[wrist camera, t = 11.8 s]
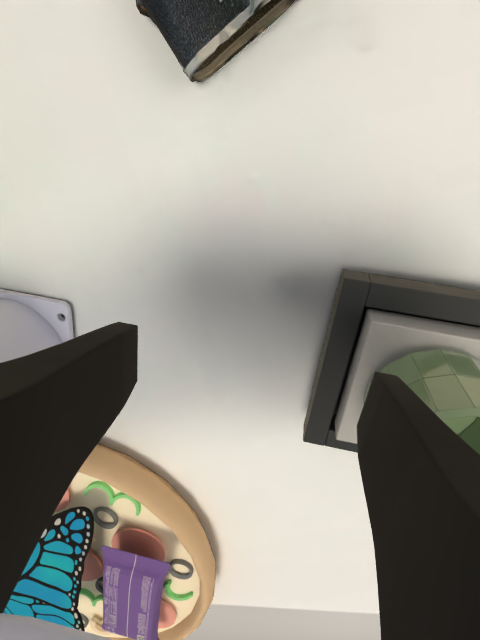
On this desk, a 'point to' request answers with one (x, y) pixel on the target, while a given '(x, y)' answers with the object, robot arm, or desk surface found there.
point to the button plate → (394, 355)
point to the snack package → (132, 593)
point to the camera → (210, 28)
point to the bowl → (444, 388)
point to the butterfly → (56, 571)
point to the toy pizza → (142, 540)
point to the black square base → (346, 325)
